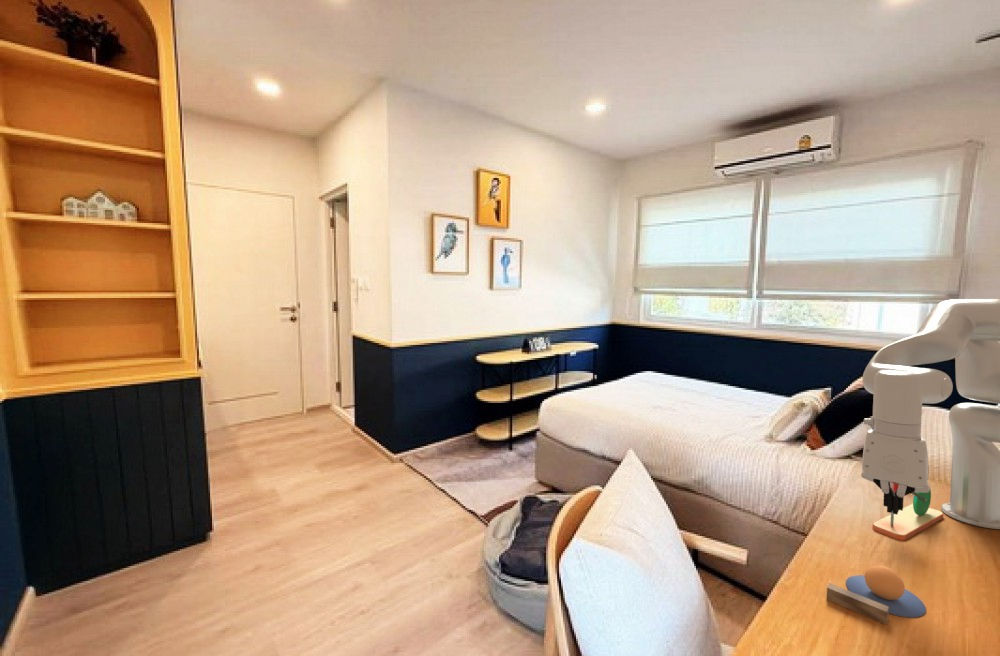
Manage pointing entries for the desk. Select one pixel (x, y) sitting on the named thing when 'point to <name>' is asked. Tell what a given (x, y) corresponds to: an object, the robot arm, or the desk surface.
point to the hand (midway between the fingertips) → (893, 511)
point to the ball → (884, 582)
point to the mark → (901, 607)
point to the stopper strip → (858, 603)
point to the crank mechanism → (909, 517)
